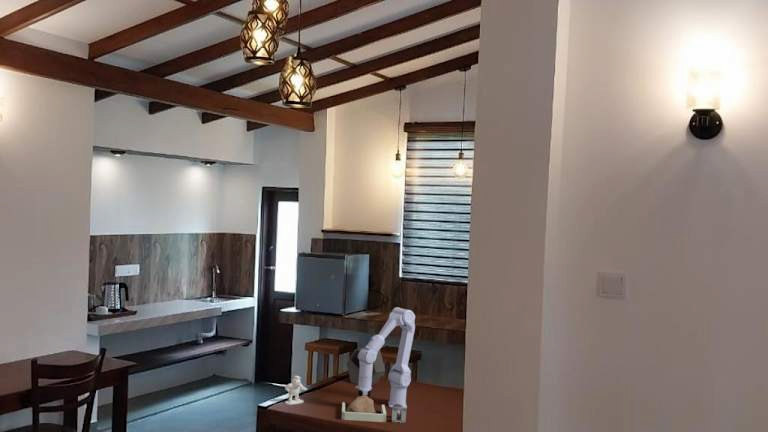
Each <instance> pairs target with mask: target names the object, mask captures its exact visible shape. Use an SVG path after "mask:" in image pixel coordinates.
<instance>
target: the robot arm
mask: <svg viewBox="0 0 768 432" xmlns="http://www.w3.org/2000/svg"><path fill="white" fill-rule="evenodd" d="M415 320H416V315H415V313H414V312H413V310H411V309H405V308H401V307H398V306H397V307H394V308H393V309H392V311H391V312H389V316H388V319H387V321H386V322H385V323H384V325H383V327H381V330H380V331H379V333H378V334H374V335H373V336H371V338H370V340H369V342H368V343H367V344H366V345H365V346H364V347H363V348H364V349H362V350H361V351H360V352H359V354H358V359H359V364H360V369H359V383H358V385H355V389H357V394H358V397H361V396H362V395H366V396H368V398H370V396H371V394H372V391H371V390H372V389H373V387H372V386H371V384H372V370H373V362H374V361H375V360H376V357H377V353H378V351H381V349H382V348H383V346H384V345H385V342H386V340H385V339H386V338H387V337H388V336H389V335H390V333H392V331H393V330H394V329H395V328H396V327H399V326H400V328H401V330H402V331H401V335H400V341H399V345H398V351H397V355H396V361H395V363H394V364H393V365H392V366H391V369H390V371H389V373H388V375H387V376H388V377H387V378H388V381H389V383H390V392H389V393H390V394H389V400H388V401H387V403H388V407H389V408H392V407H393V406H394V405H396V404H400V405H402V406H403V407H406V409H407V408H408V406H407V390H408V389H407V388H408V387H409V386H410V383H411V381H412V378H411V373H412V371H411V369H410V367H409V360H410V356H411V351H412V345H413V341H414V337H415V336H414V334H415V330H416V324H415Z"/></svg>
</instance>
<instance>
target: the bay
mask: <svg viewBox="0 0 768 432" xmlns="http://www.w3.org/2000/svg"><path fill="white" fill-rule="evenodd" d="M341 403H342V404H341V420H344V421H357V422H358V421H359V422H372V423H373V422H375V423H376V422H377V423H387V409H386V405H385V404H381V410H380V412H381V413H375V414H374V413H357V412H347V411H346V402H345V401H343V402H341Z"/></svg>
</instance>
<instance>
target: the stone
mask: <svg viewBox="0 0 768 432" xmlns="http://www.w3.org/2000/svg"><path fill="white" fill-rule="evenodd" d="M346 412H357V413H374V414H376V410H375V402H374V400H373V399H372V398H371V397H369V398H368V396H366V395H362V396H361V397H359V396H357V397H356V398H354V400H353V401H351V403H350V404H349V405H348V407H347V408H346Z"/></svg>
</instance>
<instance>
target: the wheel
mask: <svg viewBox="0 0 768 432" xmlns="http://www.w3.org/2000/svg"><path fill="white" fill-rule="evenodd" d="M394 407H403V406H402V405H400V404H396V405H394ZM392 410H393V407H391V411H392ZM397 419H401V411H399V410H397Z"/></svg>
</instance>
